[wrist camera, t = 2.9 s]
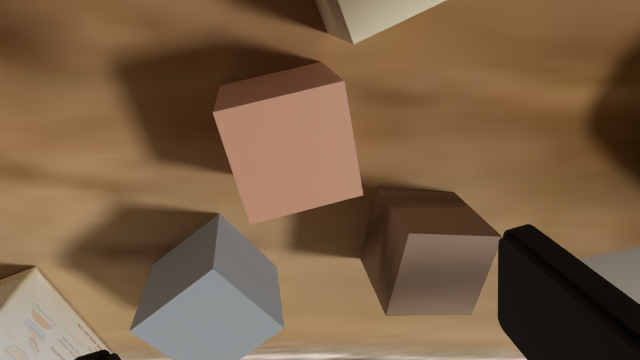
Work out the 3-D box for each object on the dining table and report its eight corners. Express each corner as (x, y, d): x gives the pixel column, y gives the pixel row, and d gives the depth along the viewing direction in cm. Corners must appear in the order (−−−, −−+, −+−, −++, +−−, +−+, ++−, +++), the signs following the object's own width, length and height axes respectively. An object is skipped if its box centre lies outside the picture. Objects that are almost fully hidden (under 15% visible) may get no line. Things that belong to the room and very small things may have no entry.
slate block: (152, 264, 26) (129, 331, 21) (219, 212, 26) (212, 269, 20) (214, 311, 29) (207, 381, 24) (276, 265, 28) (284, 328, 23)
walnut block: (376, 186, 27) (409, 233, 22) (453, 191, 28) (502, 236, 23) (360, 258, 29) (385, 315, 24) (432, 259, 31) (471, 314, 25)
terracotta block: (220, 85, 22) (212, 112, 17) (320, 61, 23) (344, 80, 17) (248, 176, 25) (250, 224, 20) (338, 153, 25) (363, 195, 20)
